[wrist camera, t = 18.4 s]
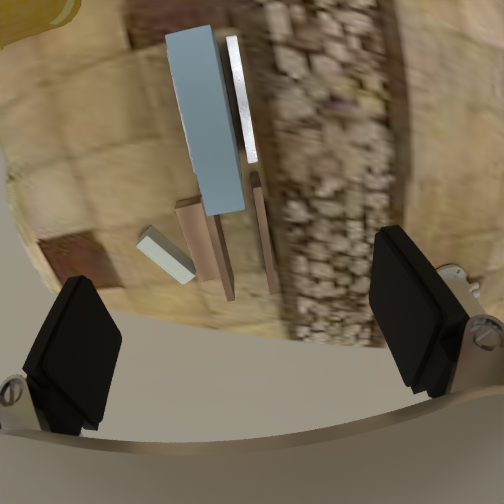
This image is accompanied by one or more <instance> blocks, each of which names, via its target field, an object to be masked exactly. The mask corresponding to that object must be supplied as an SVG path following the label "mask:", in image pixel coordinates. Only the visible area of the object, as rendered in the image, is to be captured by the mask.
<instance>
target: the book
mask: <svg viewBox="0 0 504 504" xmlns="http://www.w3.org/2000/svg"><path fill="white" fill-rule="evenodd" d="M80 6H81V0H0V50H3V46H5V45H8V44H10V43H13V42H15V41H18V40H21V39H23V38H26V37H29V36H32V35H35V34H38V33H41V32H44V31H47V30H50V29H54V28H57V27H61V26H64V25H65V24H67V23H68V22H70V21H71V20H72V19H73V18H74V17H75V15H76V14H77V13H78V10H79V8H80Z"/></svg>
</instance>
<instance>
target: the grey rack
mask: <svg viewBox="0 0 504 504" xmlns="http://www.w3.org/2000/svg"><path fill="white" fill-rule="evenodd" d="M226 41H227V47H228V52H229V58H230V63H231V69H232V74H233V80H234V86H235V91H236V97H237V102H238V108H239V114H240V119H241V125H242V131H243V137H244V142H245V148H246V154H247V159H248V163H253V162H258V161H257V155H256V149H255V142H254V136H253V130H252V124H251V118H250V112H249V106H248V100H247V94H246V88H245V82H244V77H243V71H242V65H241V59H240V54H239V48H238V43H237V37H236V35H235V36H229V37H226ZM166 51H167V55H168V60H169V65H170V70H171V75H172V80H173V84H174V89H175V94H176V98H177V103H178V107H179V112H180V116H181V121H182V125H183V129H184V134H185V138H186V142H187V147H188V151H189V155H190V159H191V163H192V168H193V172H194V173H196V171H195V167H194V163H193V159H192V155H191V151H190V147H189V142H188V138H187V134H186V130H185V125H184V121H183V117H182V112H181V108H180V103H179V99H178V95H177V90H176V86H175V81H174V76H173V72H172V67H171V62H170V58H169V53H168V50H166Z"/></svg>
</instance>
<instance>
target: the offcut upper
mask: <svg viewBox="0 0 504 504" xmlns="http://www.w3.org/2000/svg"><path fill="white" fill-rule="evenodd" d="M136 247H137V248H138V249H140V250H141V251H142V252H143V253H144V254H146V255H147V256H148V257H149V258H150V259H152V260H153V261H154V262H155V263H156V264H158V265H159V266H160V267H161V268H163V269H164V270H165V271H166V272H168V273H169V274H170V275H171V276H173V277H174V278H175V279H176V280H178V281H179V282H180V283H181V284H183V285H184V284H185V283H187V282H188V281H189V280H191V279H192V278H193V277H195V274H196V269H195V266H194V263H193V261H192V260H191V259H190V258H189V257H187V256H186V255H185V254H184V253H183V252H182V251H180V250H179V249H178V248H177V247H176V246H175V245H173V244H172V243H171V242H170V241H169V240H168V239H167V238H165V237H164V236H163V235H162V234H161V233H160V232H158V231H157V230H156V229H155V228H154V227H153V226H152V225H151V226H150V227H149V228H148V229H147V230H146V231H145V232H144V233H143V234H142V235H141V236H140V238H139V240H138V242H137V245H136Z"/></svg>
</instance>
